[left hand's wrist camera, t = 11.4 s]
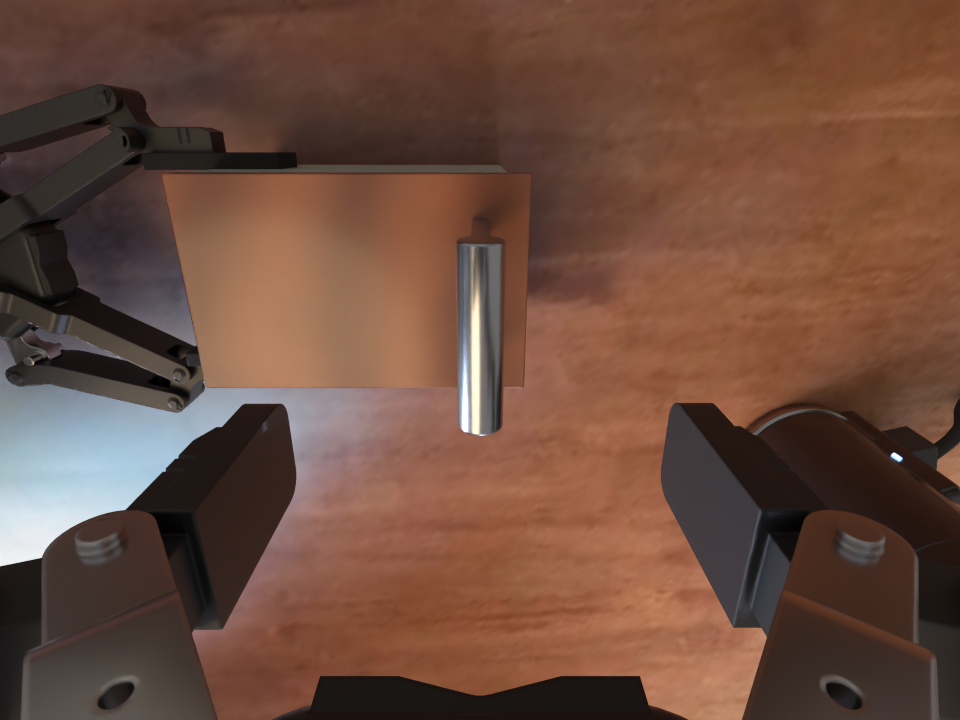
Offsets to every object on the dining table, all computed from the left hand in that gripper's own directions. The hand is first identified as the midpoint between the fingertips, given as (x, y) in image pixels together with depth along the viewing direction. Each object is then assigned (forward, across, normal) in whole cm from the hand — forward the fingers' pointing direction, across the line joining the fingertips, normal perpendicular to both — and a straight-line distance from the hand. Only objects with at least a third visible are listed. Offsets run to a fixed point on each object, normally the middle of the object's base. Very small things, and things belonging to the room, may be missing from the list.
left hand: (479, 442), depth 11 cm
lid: (+14, -5, 0) cm, 15 cm away
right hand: (+19, -10, 0) cm, 21 cm away
